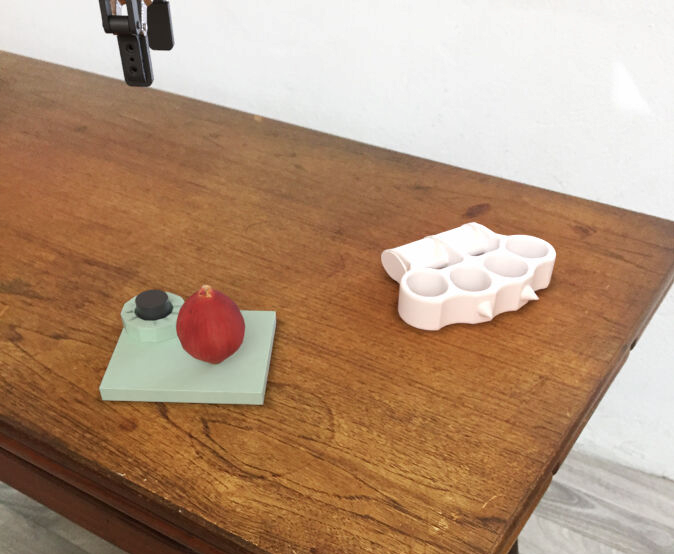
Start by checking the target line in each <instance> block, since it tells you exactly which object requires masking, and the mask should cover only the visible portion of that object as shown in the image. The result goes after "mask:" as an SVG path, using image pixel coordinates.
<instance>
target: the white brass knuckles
mask: <svg viewBox="0 0 674 554" xmlns="http://www.w3.org/2000/svg"><path fill="white" fill-rule="evenodd" d="M556 257H557V254H556V250H555V248H554V247H553V245H551V244H550V243H549V242H548V241H545V240H544V239H542V238H539V237H536V236H532V235H528V234H527V235H526V234H513V235H503V234H499V233H496V232H494V231H492V230H491V229H489V228H488V227H486V226H484V225H483V224H480V223H477V222H474V221H473V222H468V223H464V224H461V226H458V227H455V228H452V229H449V230H446V231H443V232H440V233H437V234H433V235H427V236H424V237H423V238H422V239H418V240H416V241H412V242H410V243H406V244H403V245H400V246H396V247H394V248H388V249H385V250H383V251H382V252H381V255H380V261H381V264H382V266H383V268H384V270H385V272H386V273H387V274H388V276H389V277H390V278H391V279H392V280H394V281H396V282H397V283H398V284H399V290H398V304H397V312H398V315H399V317H400V318H401V319H402V320H403V322H404V323H406V324H407V325H409V326H411V327H412V328H415V329H418V330H423V331H440V330H441V329H443V328H445V327H446V326H450V325H453V324H454V325H455V324H469V325H475V324H481V323H487V322H491V321H492V320H493V319H494V318H495V317H496V316H498V315H500V314H503V313H506V312H517V311H518V310H520V309H521V308H522V307H523V306H525V305H526V304H528V302H529V301H537V300H540V298H539V296H538V295H537V294H536V293H535V292H537V291H540V290H544V289H547V288H548V287H549V285H550V284H551V279H552V276H553V275H552V274H553V271H554V266H555V262H556Z"/></svg>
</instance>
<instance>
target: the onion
mask: <svg viewBox="0 0 674 554" xmlns="http://www.w3.org/2000/svg"><path fill="white" fill-rule="evenodd" d="M184 302H185V303H184V304H183V305H182V306H181V308H180V310H179V313H178V317H177V322H176V332H177V336H178V338H179V340H180V342H181V345H182V348H183V349H184V350H185V351H186V352H187V353H188V354H189V355H191V356H192V357H193V358H195V359H198V360H201V361H204V362H208V363H210V364H220V363H221V362H223V361H224V360H225V359H227V358H228V357H230V356H231V355H233V354H234V353H235V352H236V351H237V350H238V349H239V348H240V346H241V345H242V343H243V339H244V335H245V322H244V318H243V316H242V314H241V312H240V310H241V309H240V307H239V305H238V304H237V303H236V302H235V301H234V300H233V299H232V298H230V297H229V296H228V295H226V294H225V293H223V292H222V291H220V290H217V289H214V288H213V287H211V285H209V284H203V285H201V287H200V288H199V290H197V291H196V292H194V293H193V294H191V295H189V296H188V298H187V299H186V300H184Z"/></svg>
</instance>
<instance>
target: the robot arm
mask: <svg viewBox="0 0 674 554" xmlns="http://www.w3.org/2000/svg"><path fill="white" fill-rule="evenodd" d="M98 5H99V6H98V7H99V11H100V17H101V26H102V29H103V31H104V33H105V34H108V35H109V34H110V35H112V36H116V41H117V45H118V51H119V57H120V62H121V67H122V73H123V78H124V79H123V80H124V82H125V84H126V85H127V86H129V87H131V88H139V87H141V88H149V87H151V86H152V84H153V83H154V81H155V76H154V69H153V63H152V57H151V56H152V55H151V50H152V51H161V52H162V51H163V52H169V51H171V50H173V49H174V46H175V36H174V27H173V21H172V20H173V19H172V12H171V5H170V1H168V0H98ZM124 5H125V7H126V14H127V15H125V14H124V15H123V14H122V8H123V6H124Z"/></svg>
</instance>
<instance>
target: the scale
mask: <svg viewBox="0 0 674 554" xmlns="http://www.w3.org/2000/svg"><path fill="white" fill-rule="evenodd" d="M164 292H165V293H167V295H168V298H169V304H170V309H171V312H170V314H169V315H168V316H167V317H166V318H163V319H159V320H156V321H145V320H142V319H141V318H140V317H139V316H138V312H137V307H136V303H135V299H136V297H137V295H135V296H134V297H132V298H131V299H130V300H128V301H126V302H125V303H124V304H123V307H122V309H121V312H120V317H121V322H122V326H123V328H122V330H121V333H120V335H119V337H118V340H117V343H116V344H115V348H114V351H113V352H112V355H111V357H110V360H109V363H108V365H107V368H106V370H105V372H104V375H103V378H102V379H101V382H100V385H99V387H98V389H99V393H100V396H101V400H102V401H112V402H114V401H115V402H147V403H149V402H150V403H151V402H153V403H155V402H156V403H184V404H185V403H186V404H187V403H189V404H222V405H223V404H224V405H225V404H227V405H257V406H258V405H259V406H260V405H261V406H263V405H264V400H265V394H266V389H267V383H268V376H269V370H270V365H271V359H272V358H271V357H272V352H273V346H274V339H275V333H276V327H277V314H276V310H249V309H247V310H246V309H245V310H243V309H242V310H241V309H240V312H241V314H242V316H243V318H244V322H245V335H244V339H243V343H242V345H241V346H240V348H239V349H238V350H237V351H236V352H235V353H234V354H233V355H231V356H230V357H228V358H227V359H225V360H224V361H223V362H221V363H220V364H210V363H208V362H204V361H201V360H198V359H195V358H193V357H192V356H191V355H189V354H188V353H187V352H186V351H185V350H184V349H183V348H182V345H181V342H180V340H179V338H178V336H177V332H176V322H177V317H178V313H179V310H180V308H181V306H182V305H183V304H184V303H185V300H184V299H183V297H182V296H180V295H177V294H175V293H172V292H169V291H164Z"/></svg>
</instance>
